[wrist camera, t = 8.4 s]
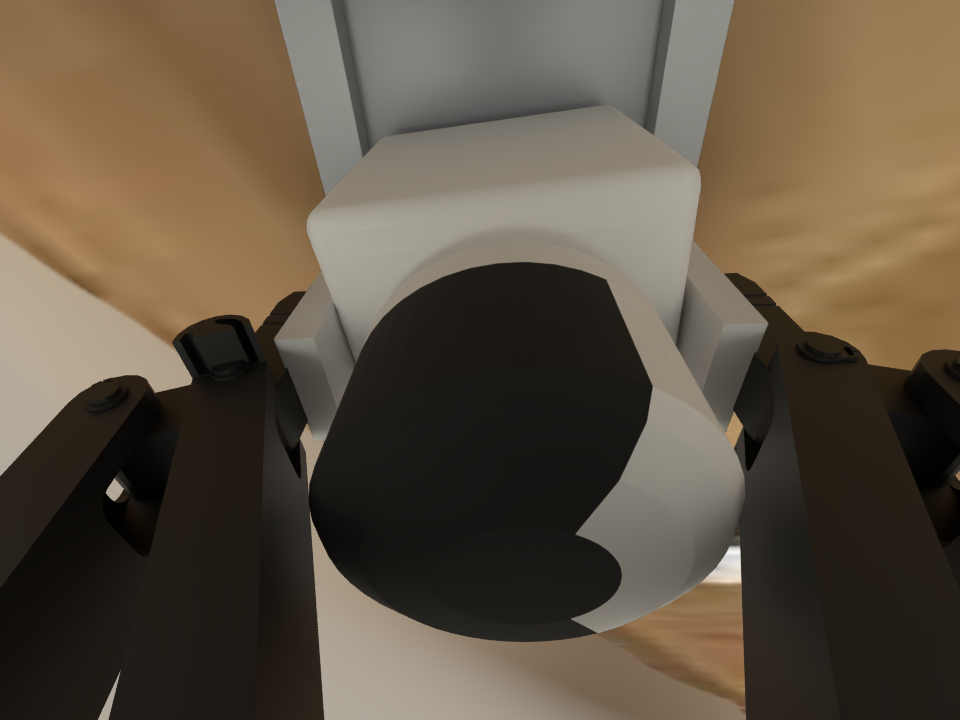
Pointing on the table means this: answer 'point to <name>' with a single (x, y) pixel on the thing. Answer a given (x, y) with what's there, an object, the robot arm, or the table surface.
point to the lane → (498, 66)
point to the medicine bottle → (519, 380)
